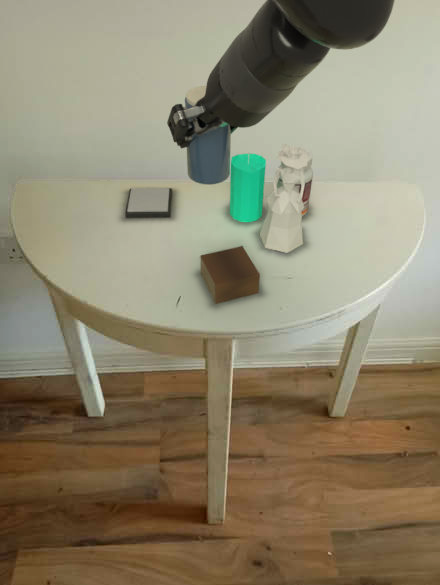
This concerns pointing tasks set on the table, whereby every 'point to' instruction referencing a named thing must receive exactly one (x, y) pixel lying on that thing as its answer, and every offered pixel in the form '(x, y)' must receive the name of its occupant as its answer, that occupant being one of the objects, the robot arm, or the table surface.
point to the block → (229, 274)
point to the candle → (247, 187)
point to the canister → (208, 148)
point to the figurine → (285, 204)
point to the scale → (149, 203)
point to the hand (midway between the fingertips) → (202, 135)
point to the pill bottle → (307, 180)
